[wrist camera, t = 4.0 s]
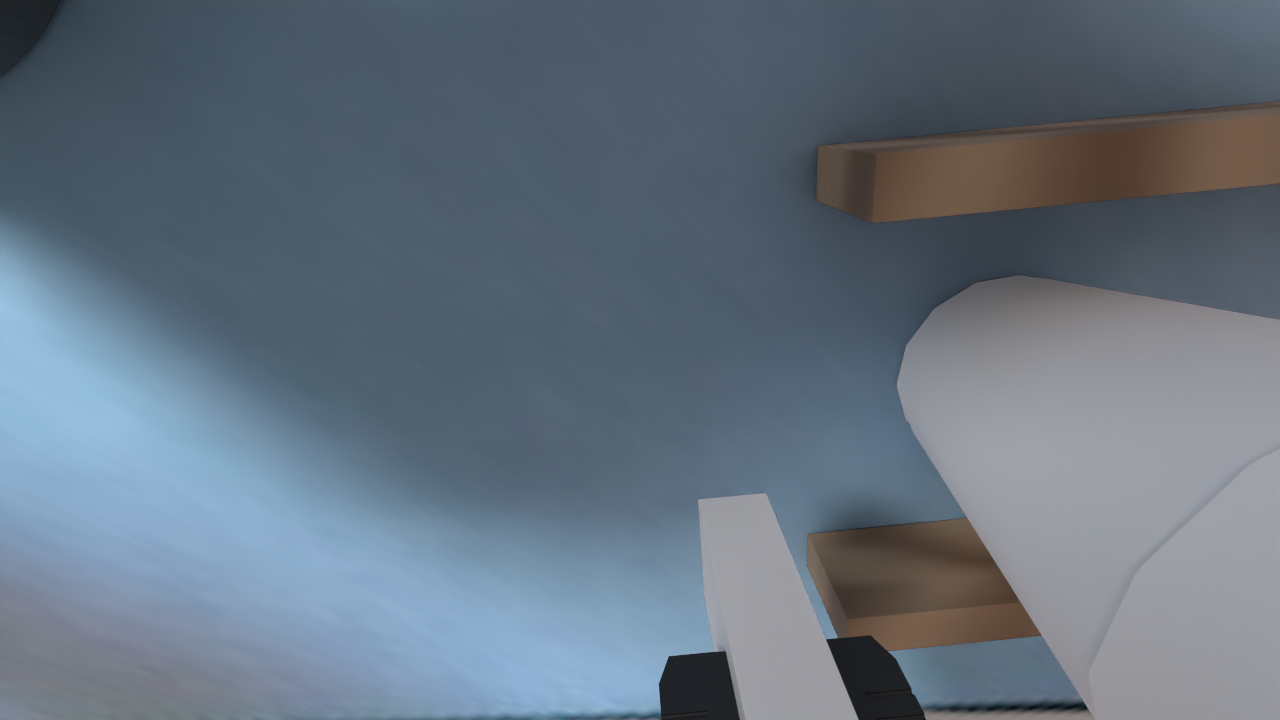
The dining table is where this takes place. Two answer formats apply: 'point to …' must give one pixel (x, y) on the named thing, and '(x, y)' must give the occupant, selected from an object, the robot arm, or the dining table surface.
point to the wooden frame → (985, 182)
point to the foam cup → (1117, 483)
